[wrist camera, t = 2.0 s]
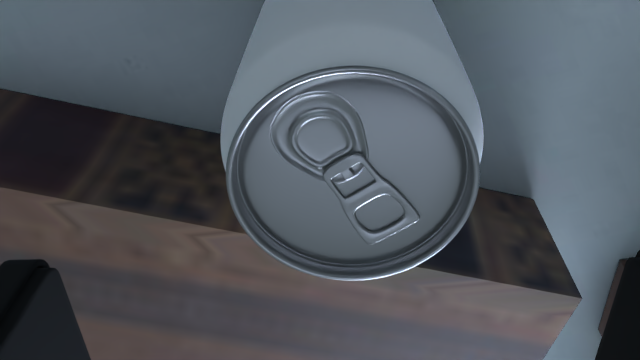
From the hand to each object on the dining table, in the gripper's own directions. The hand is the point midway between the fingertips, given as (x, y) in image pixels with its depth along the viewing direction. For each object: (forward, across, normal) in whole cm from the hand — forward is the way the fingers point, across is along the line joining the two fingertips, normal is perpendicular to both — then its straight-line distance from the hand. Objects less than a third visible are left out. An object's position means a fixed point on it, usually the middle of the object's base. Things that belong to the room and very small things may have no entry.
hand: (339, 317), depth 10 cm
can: (+16, 0, 0) cm, 16 cm away
